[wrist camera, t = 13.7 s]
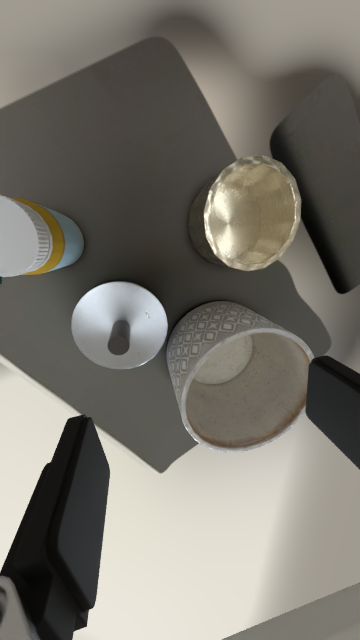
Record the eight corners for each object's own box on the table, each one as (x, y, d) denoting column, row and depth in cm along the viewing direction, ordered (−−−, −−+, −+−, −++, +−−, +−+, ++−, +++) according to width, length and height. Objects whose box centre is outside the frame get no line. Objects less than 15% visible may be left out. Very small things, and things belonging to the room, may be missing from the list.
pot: (182, 182, 31) (198, 161, 23) (263, 173, 33) (303, 150, 25) (193, 270, 36) (209, 278, 28) (264, 258, 37) (298, 262, 29)
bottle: (94, 255, 32) (62, 264, 18) (48, 273, 32) (-20, 294, 18) (69, 205, 30) (11, 170, 16) (19, 223, 29) (-86, 203, 15)
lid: (59, 289, 30) (38, 302, 23) (158, 273, 31) (164, 280, 25) (88, 374, 34) (77, 404, 28) (172, 355, 36) (181, 379, 30)
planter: (190, 404, 44) (215, 473, 31) (146, 330, 37) (152, 378, 24) (270, 361, 45) (329, 410, 31) (241, 280, 38) (299, 299, 24)
